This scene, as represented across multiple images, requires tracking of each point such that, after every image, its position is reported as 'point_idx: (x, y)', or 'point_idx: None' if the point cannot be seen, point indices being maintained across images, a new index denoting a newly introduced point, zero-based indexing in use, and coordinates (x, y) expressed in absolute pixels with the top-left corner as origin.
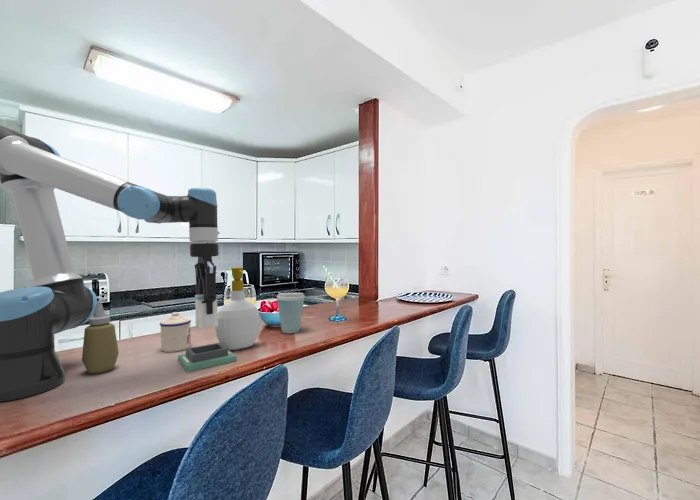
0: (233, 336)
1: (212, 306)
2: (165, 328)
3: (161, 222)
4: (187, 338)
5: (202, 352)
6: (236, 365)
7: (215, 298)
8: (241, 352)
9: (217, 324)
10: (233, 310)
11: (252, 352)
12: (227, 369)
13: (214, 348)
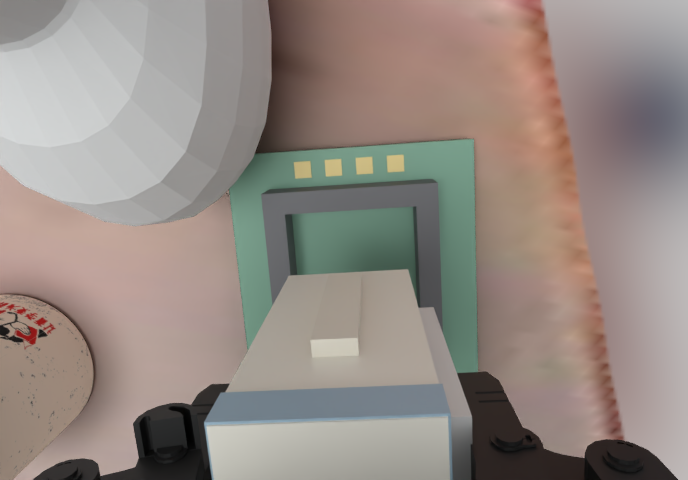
0: (268, 100)
1: (515, 416)
2: None
3: None
4: (32, 339)
5: None
6: (536, 158)
7: (662, 469)
8: (320, 67)
9: (409, 275)
10: (200, 73)
11: (362, 6)
12: (565, 213)
13: (291, 226)
